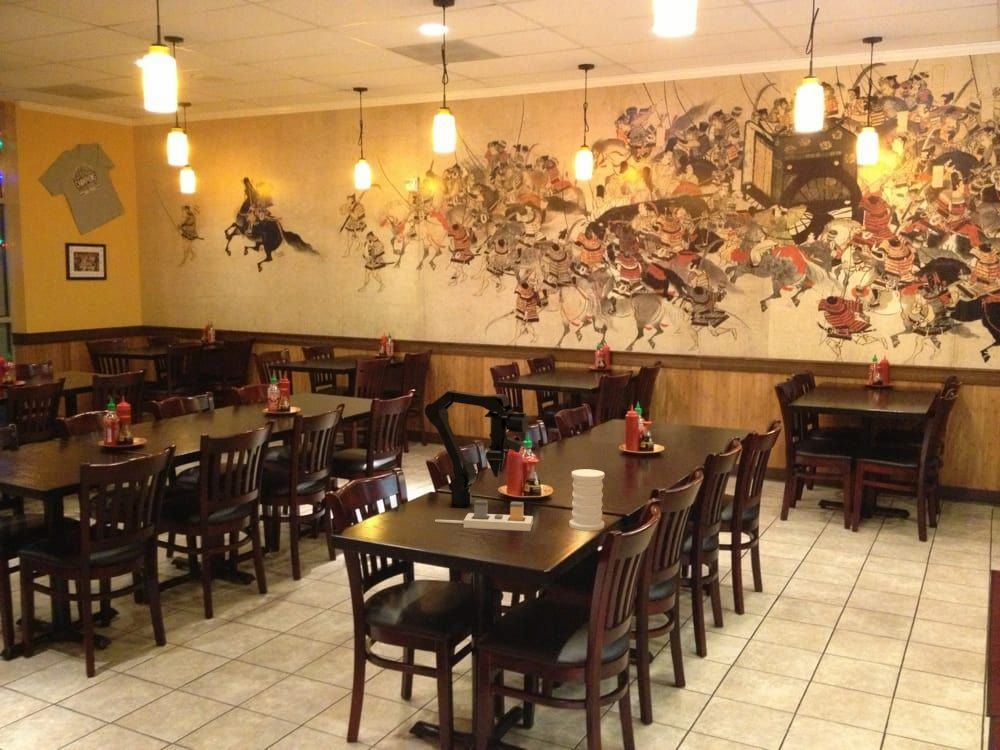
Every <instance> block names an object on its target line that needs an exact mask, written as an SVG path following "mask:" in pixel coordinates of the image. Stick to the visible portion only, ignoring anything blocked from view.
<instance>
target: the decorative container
mask: <svg viewBox="0 0 1000 750" xmlns="http://www.w3.org/2000/svg"><path fill="white" fill-rule="evenodd" d="M571 477H572V478H573V481H572V487H573V490H572V493H571V495H572V502H571V504H572V505H571V506H572V511H571V515H572V519H570V520H569V521H568V522H569V527H570V528H572V529H574V530H578V531H585V532H587V531H589V532H590V531H591V532H593V531H600V530H602V529H604V528H605V522H604V520H602V517H603V511H602V507H603V500H602V499H603V495H604V493H603V492H602V491H603V488H604V483H603V479H604V478H605V472H604V471H602V470H597V469H589V468H586V469H585V468H584V469H575V470H573V471H571Z"/></svg>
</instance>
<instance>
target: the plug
mask: <svg viewBox="0 0 1000 750" xmlns="http://www.w3.org/2000/svg"><path fill="white" fill-rule="evenodd" d="M509 505H510V506H509V515H510V521H523V516H524V501H511V502H510V503H509Z"/></svg>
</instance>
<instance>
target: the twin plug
mask: <svg viewBox="0 0 1000 750" xmlns="http://www.w3.org/2000/svg"><path fill="white" fill-rule="evenodd" d="M473 507H474V508H473V513H474V519H486V520H487V514H488V510H489V508H488V500H486V499H485V500H483V499H475V500H474V503H473Z"/></svg>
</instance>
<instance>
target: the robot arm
mask: <svg viewBox="0 0 1000 750" xmlns="http://www.w3.org/2000/svg"><path fill="white" fill-rule="evenodd" d="M454 403H457V404H462V405H468V406H469V405H471V406H475V407H476V406H477V407H482V409H483V408H484V409H485V410H487V411H488V412H487V413H486V414H485V415H484V417H485V418H490V420H489V421H490V424H489V425H490V426H489V427H490V428H489V430H490V432H489V438H490V440H489V441H490V442H489V443H490V444H489V445H488V446H489V447H488V448H489V449H488V450H487V451H486V452H485V459H486V461H487V462H488V465H489V467H490V469H491V472H492V474H493V476H494V478H498V477H499V473H500V472H502V469H503V465H504V461H505V459H506V455H508V454H509V452H510V450H511V451H513V452H515V453H516V454H517V453H520V452H521V449H522V447H523V444H524V442H523V441H521V437H520V436H518V435H516V436H515V437H514V438H513V437H510V436H509V433H508V432H513V433H522V434H523V433H525V434H526V433H527V432H528V429H529V422H530V421H529V419H528V417H527V413H526V412H516V411H515V410H514V408H513V406H512V404H511V403H510V399H509V398H508V395H507V394H503V393H496V394H494V393H493V394H479V393H473V392H472V393H471V392H467V391H466V392H465V391H459V390H455V389H452V390H448V391H446V392H445V393H443V395H441V396H440V397H439V398H437V399H436V400H435V401H433V402H431V403H428V404H426V406H425V408H424V415H425V417H426V418H427V419H428V421H429V423H430V424H431V425H432V426H433V427H434V428H436V430H437V433H438V435H439V437H440V440H441V442H442V444H443V447H444V448H445V451H446V453H447V455H448V457H449V459H450V462H451V465H452V475H453V476H452V477H453V478H454V479H452V480H451V482H450V483H448V490H449V491H450V493H451V494H450V495H451V496H450V497H451V501H450V502H451V504H450V505H449V506H450V508H467V509H468V508H469V507H470V505H471V504H472V491H471V487H472V486H473V483H474V482H475V481H476V480H477V478H478V475H477V472H478V470H477V468H476V467H475V464H474V462H473V461H467V459H466V458H465V456H464V454H463V452H462V450H461V447H460V446H459V445H460V444H459V442H458V441H457V438H456V437H455V434H454V431H453V430H452V427H451V425H450V421H449V418H450V417H449V412H448V409H449V408H450V407H452V406H453V404H454ZM507 430H508V431H507Z"/></svg>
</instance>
